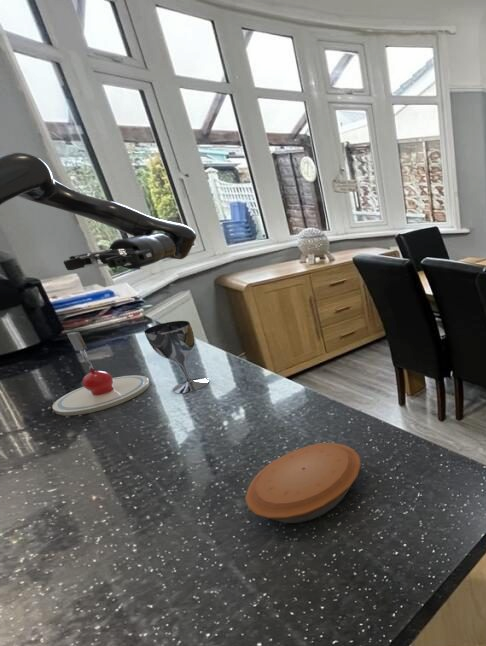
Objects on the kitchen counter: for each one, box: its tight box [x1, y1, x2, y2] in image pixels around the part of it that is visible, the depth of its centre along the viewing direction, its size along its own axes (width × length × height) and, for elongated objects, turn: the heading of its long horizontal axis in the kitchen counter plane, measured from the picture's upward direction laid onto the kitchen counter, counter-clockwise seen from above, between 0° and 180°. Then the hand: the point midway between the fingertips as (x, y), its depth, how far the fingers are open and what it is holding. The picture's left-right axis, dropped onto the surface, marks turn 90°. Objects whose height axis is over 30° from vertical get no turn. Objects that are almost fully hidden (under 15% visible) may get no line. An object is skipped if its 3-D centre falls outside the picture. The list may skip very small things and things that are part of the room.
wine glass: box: [143, 320, 210, 394], centre depth 90 cm, size 8×8×15 cm
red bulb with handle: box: [66, 331, 114, 395], centre depth 87 cm, size 5×5×14 cm
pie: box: [244, 442, 362, 524], centre depth 59 cm, size 15×16×5 cm
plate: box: [51, 374, 151, 417], centre depth 90 cm, size 16×16×1 cm
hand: (88, 264), depth 89 cm, fingers open, 8 cm apart
